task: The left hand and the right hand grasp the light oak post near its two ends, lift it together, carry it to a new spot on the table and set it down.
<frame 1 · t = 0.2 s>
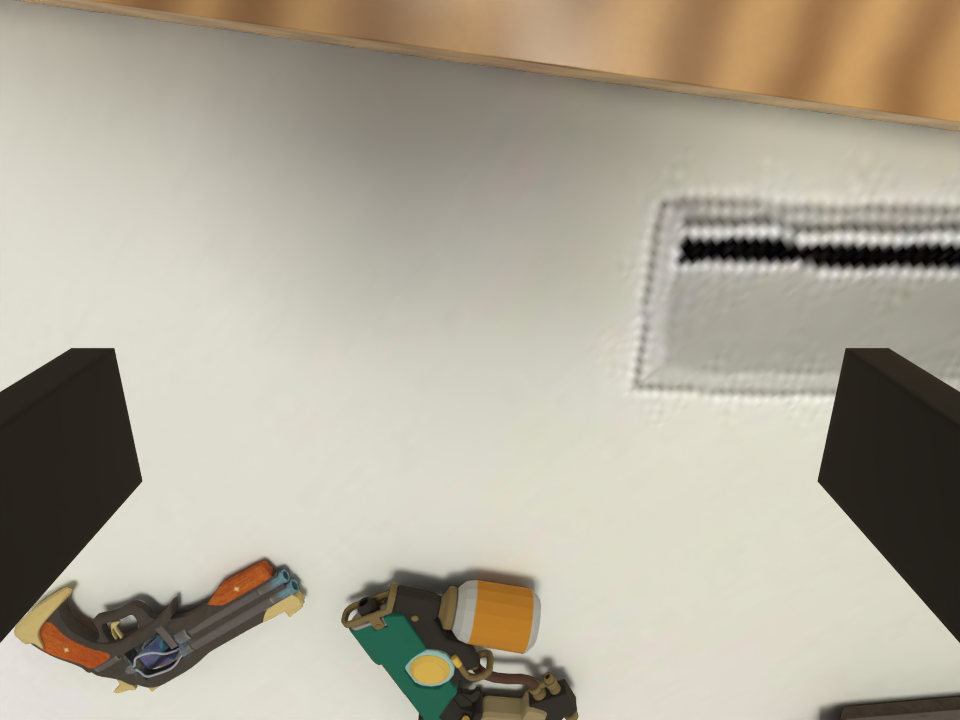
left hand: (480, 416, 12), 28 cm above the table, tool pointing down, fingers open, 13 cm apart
toy gun: (166, 600, 49), on the table
spray gun: (465, 649, 50), on the table
post: (627, 32, 35), on the table
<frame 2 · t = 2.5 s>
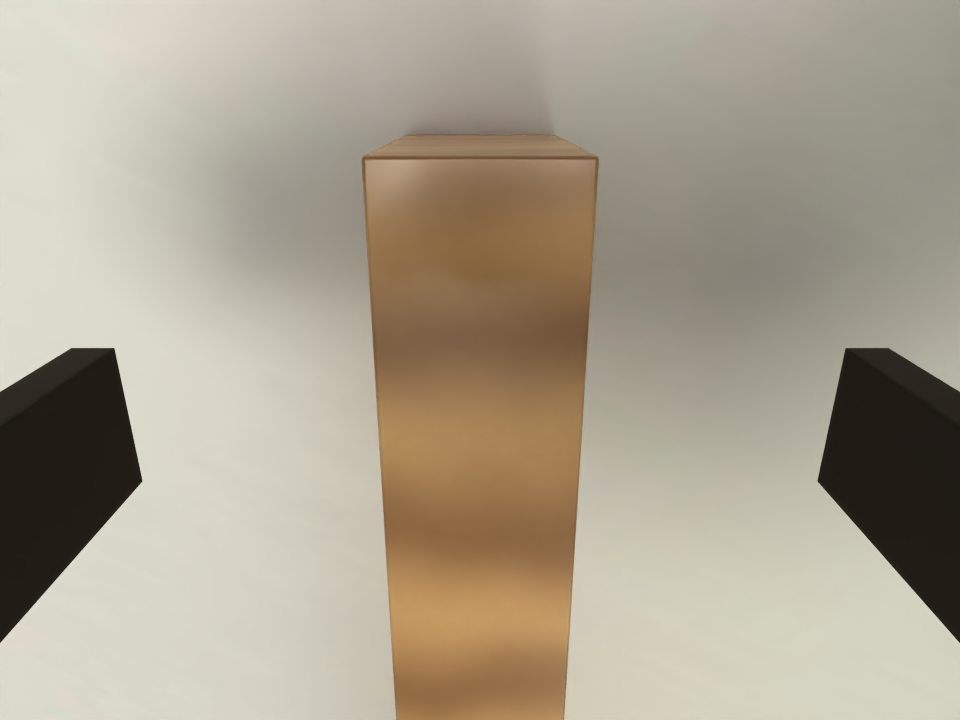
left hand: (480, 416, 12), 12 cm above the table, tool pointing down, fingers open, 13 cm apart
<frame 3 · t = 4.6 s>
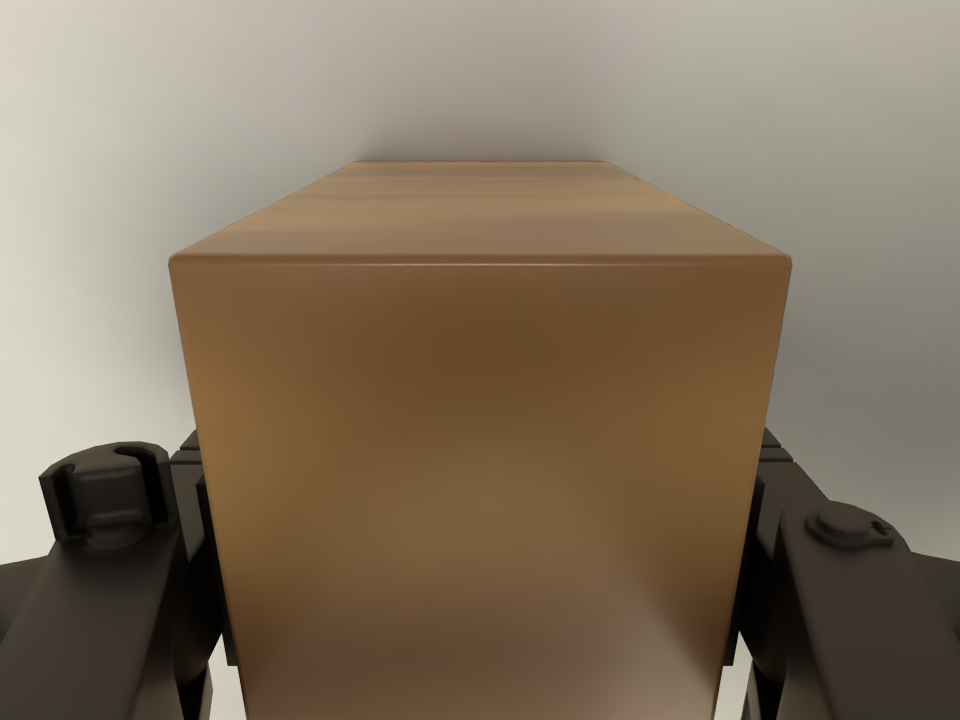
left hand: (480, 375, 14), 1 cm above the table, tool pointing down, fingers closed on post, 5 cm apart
when the left hand's fingers open (2 cm above the table, at t = 9.8 s): post stays where it is, on the table.
when the right hand's fingers open (5 cm above the table, at t = 10.0 s): post stays where it is, on the table.
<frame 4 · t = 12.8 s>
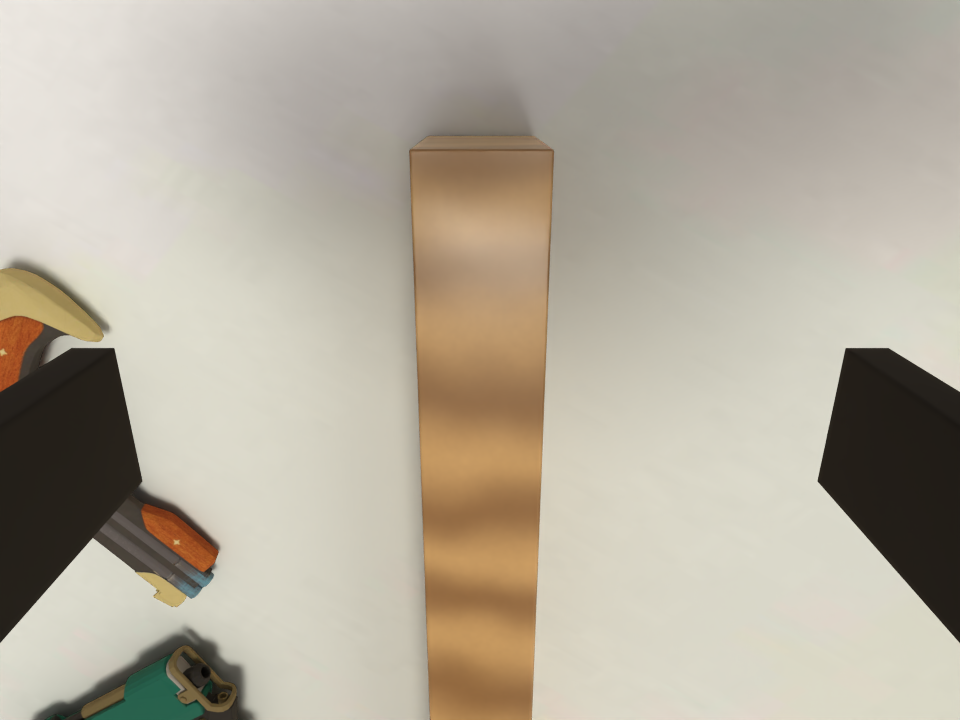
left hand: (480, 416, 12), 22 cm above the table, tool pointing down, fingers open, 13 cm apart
toy gun: (115, 440, 37), on the table
post: (480, 711, 44), on the table
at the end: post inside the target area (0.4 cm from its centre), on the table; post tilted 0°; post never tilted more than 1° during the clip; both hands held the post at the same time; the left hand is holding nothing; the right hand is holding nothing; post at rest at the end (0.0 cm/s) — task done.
